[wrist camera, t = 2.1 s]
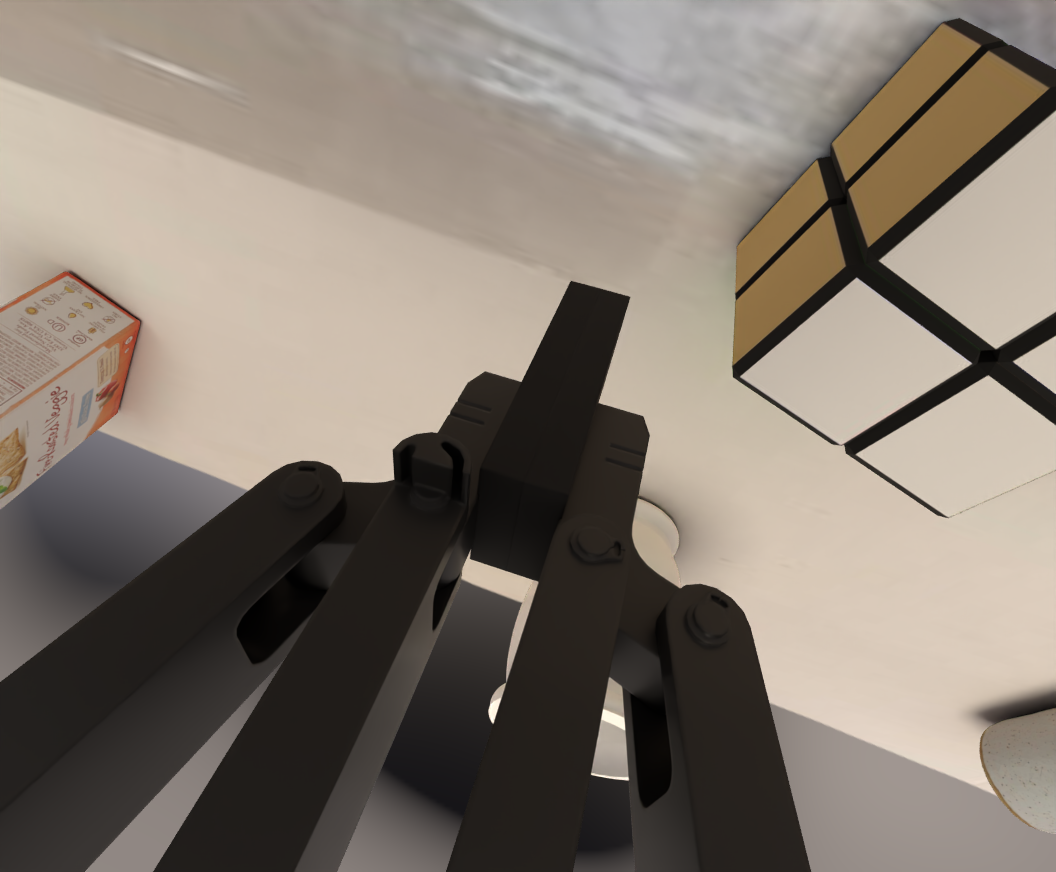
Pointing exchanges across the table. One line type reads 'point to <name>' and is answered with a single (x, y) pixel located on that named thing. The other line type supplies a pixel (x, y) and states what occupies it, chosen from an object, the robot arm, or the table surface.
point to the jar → (657, 549)
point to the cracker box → (57, 375)
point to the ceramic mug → (1024, 766)
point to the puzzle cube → (920, 279)
